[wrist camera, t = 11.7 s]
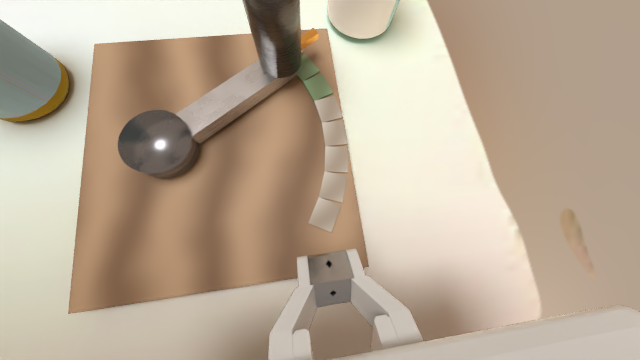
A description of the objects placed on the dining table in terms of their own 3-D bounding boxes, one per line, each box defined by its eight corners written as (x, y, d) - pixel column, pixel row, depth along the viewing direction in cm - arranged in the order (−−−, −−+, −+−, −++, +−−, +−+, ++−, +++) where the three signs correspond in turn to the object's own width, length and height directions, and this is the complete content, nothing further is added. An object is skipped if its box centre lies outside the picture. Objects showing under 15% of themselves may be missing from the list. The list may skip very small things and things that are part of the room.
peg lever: (159, 191, 18) (-81, 122, 7) (125, 145, 19) (-142, 17, 8) (332, 67, 22) (359, -112, 10) (298, 32, 22) (289, -170, 11)
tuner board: (84, 308, 17) (65, 314, 16) (105, 53, 22) (92, 42, 21) (364, 264, 19) (369, 266, 18) (326, 38, 24) (327, 26, 23)
